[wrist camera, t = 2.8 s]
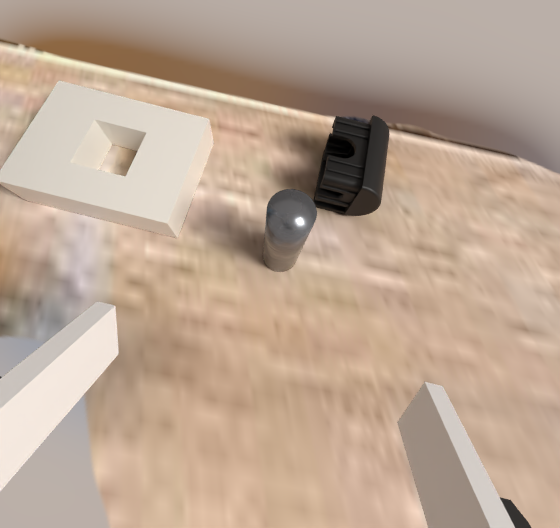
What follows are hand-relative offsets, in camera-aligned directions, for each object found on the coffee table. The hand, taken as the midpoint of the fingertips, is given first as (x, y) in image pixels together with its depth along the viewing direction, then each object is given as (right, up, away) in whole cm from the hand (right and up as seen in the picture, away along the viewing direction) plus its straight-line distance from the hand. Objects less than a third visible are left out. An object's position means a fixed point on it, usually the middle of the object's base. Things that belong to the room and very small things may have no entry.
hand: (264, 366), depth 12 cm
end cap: (+9, +15, +25) cm, 30 cm away
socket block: (-18, +16, +22) cm, 33 cm away
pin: (+1, +5, +21) cm, 21 cm away
